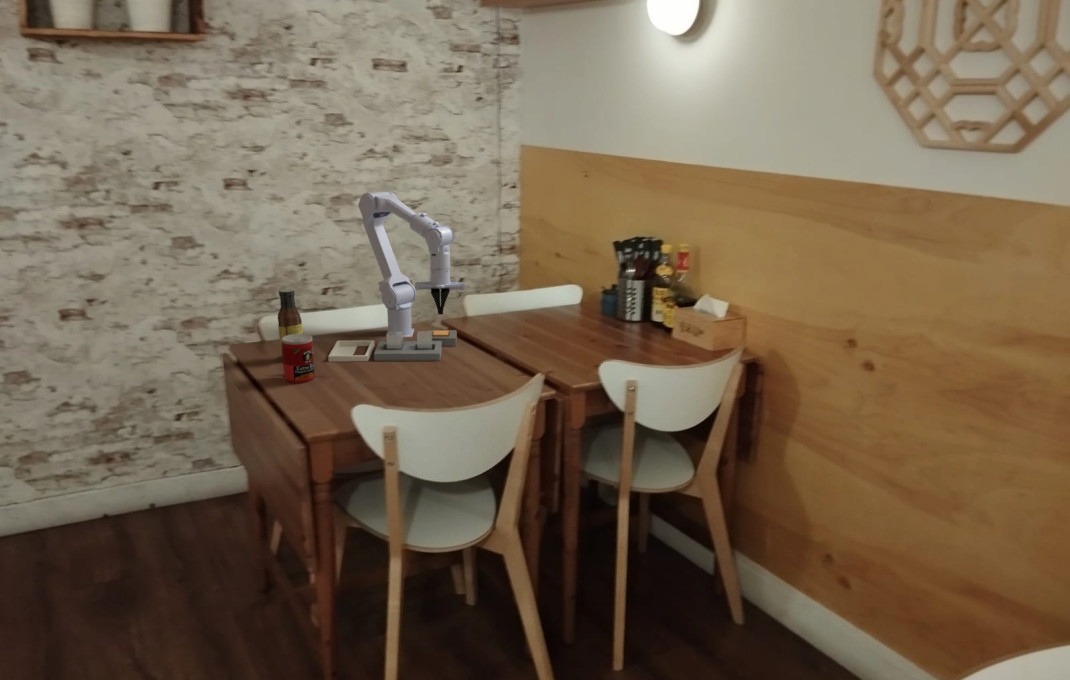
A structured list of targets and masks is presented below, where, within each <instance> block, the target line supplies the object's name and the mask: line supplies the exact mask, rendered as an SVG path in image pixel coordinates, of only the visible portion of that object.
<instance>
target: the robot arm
mask: <svg viewBox="0 0 1070 680" xmlns="http://www.w3.org/2000/svg"><path fill="white" fill-rule="evenodd" d="M358 201H359V202H358V208H359V211H360V213H361V216H362V221H363V227H364V230H365V232H366V236H367V237H368V240H369V243H370V245H371V246H370V247H371V248H372V251H373V254H374V256H375V260H376V261H377V264H378V267H379V270H380V272H381V275H382V278H383V280H382V282H381V283H380V285H379V289H380V293H381V295H380V296H381V297H380V298H381V302H382V303H383V305H384V306H385V308H386V310H387V332H386V334H385V337H386V338H387V333H388V332H403V338H405V337H406V338H409V337H411V338H412V337H413V335H414V333H415V328H412V327H413V325H412V306H413V305H414V304H413V303H414V302H415V300H416V298H417V291H419V290H430V294H431V296H432V298H433V301H434V302H435V305H436V309H437V310H436V311H437V315H443V314H444V308H445V304H446V302H447V299H448V297H449V294H450V290H456V291H457V290H458V291H459V290H460V291H466V281H465V282H463V281H462V282H461V281H451V253H450V251H451V247H450V246H451V244H452V243H453V242H454V239H455V233H454V231H453V229H452V228H451V227H450V226H449V225H448V224H447V225H446V224H444V225H441V224H440V223H439V222H438V221H435V220H433V219H432V218H430V217H429V216H428V213H426V212H418V213H417V212H415V211H414V210H413V209H411V208H410V207H408V206H407V205H406V204H405V203H403V201H401V200H400V199H398V196H397V194H395V193H393V192H392V191H390V190H383V191H376V192H365V193H363V194H362V195H361V197H360V198H359V200H358ZM391 214H393V215H395V216H396V217H398V218H400V219H401V220H404V221H405V222H407V223H409V228H410V229H411V230H412V231H413V232H415V233H416V234H417V235H419V236H420V237H422V238H423V239H424V240H425V242H426V245H427V247H428V248H427V249H428V252H429V268H430V269H429V275H430V276H429V280H430V281H420V282H419V281H416V282H414V285H413V284H412V283H411V280H410V278H409V277H408V276H407V275H405V274H403V273H402V271H401V270H400V267H399V264H398V262H397V259H396V255H395V253H394V251H393V249H392V246H391V243H390V240H389V237H388V235H387V233H386V230H385V226H384V223H385V221H387V219H388V217H389V216H390V215H391Z"/></svg>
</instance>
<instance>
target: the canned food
mask: <svg viewBox="0 0 1070 680" xmlns="http://www.w3.org/2000/svg"><path fill="white" fill-rule="evenodd" d="M281 343H282V356H281V357H282V358H283V359H282V370H283V372H282V373H283V379H284V380H285V381H286V382H287V383H290V384H304V383H309V382H311V381H313V380H314V378H315V373H316V372H315V356H314V355H315V354H314V340H313V336H312V335H309V334H306V333H305V334H304V333H303V334H292V335H287V336H284V337H282V340H281Z"/></svg>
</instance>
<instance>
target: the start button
mask: <svg viewBox="0 0 1070 680" xmlns="http://www.w3.org/2000/svg"><path fill="white" fill-rule="evenodd" d="M433 337H449V331H434V333H433Z"/></svg>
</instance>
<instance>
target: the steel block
mask: <svg viewBox="0 0 1070 680" xmlns="http://www.w3.org/2000/svg"><path fill="white" fill-rule="evenodd" d="M387 332H388V331H387ZM387 332H386V334H387V337H386V341H387V350H402V348H403V341H404V340H403V339H404V337H403V332H388V333H387Z"/></svg>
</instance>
